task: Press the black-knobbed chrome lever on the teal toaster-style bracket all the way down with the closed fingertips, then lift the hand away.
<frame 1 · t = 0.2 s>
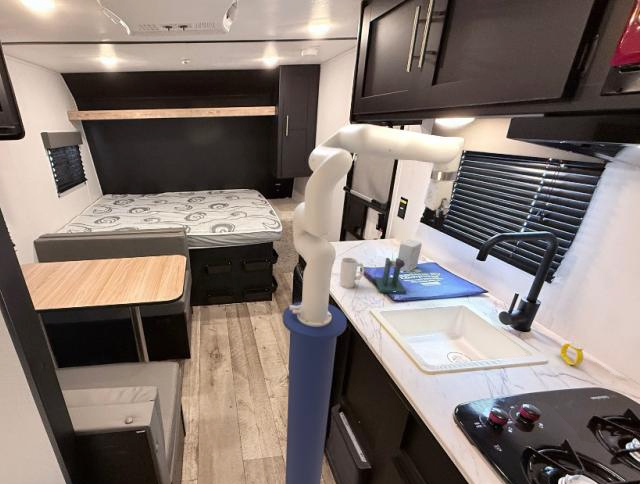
hand: (432, 223, 114), 31 cm above the worktop, tool pointing down, fingers open, 9 cm apart
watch: (567, 361, 92), on the worktop
toaster bracket: (388, 286, 137), on the worktop
mug: (350, 285, 140), on the worktop
toaster lever: (396, 263, 127), point 13 cm above the worktop, hinge at 25.0°
small box: (406, 268, 153), on the worktop
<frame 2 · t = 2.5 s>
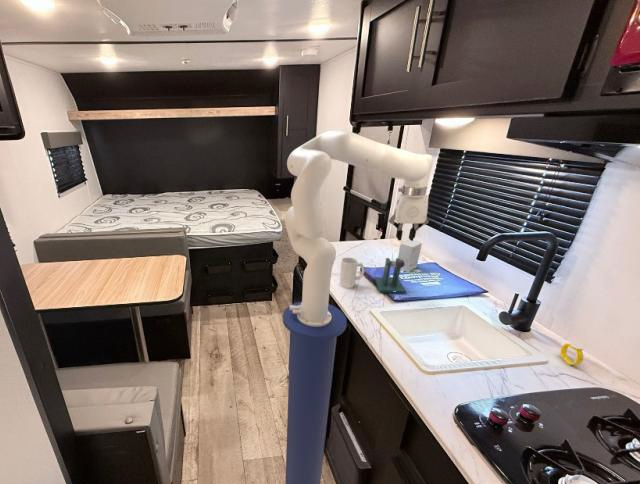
hand: (404, 239, 119), 25 cm above the worktop, tool pointing down, fingers open, 3 cm apart
nothing on the worktop moved.
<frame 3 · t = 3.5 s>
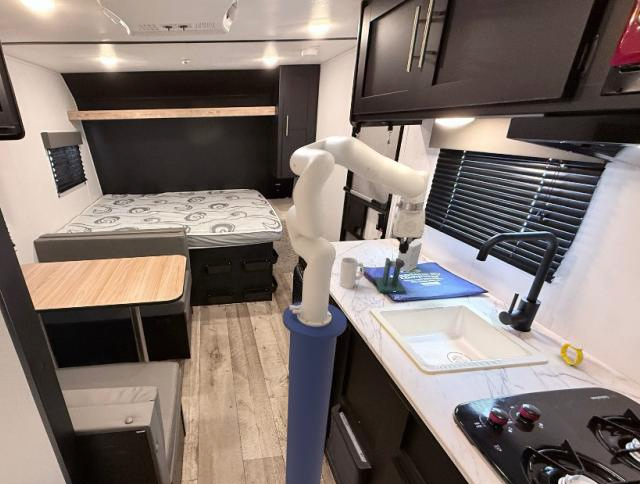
hand: (402, 252, 121), 20 cm above the worktop, tool pointing down, fingers closed
nothing on the worktop moved.
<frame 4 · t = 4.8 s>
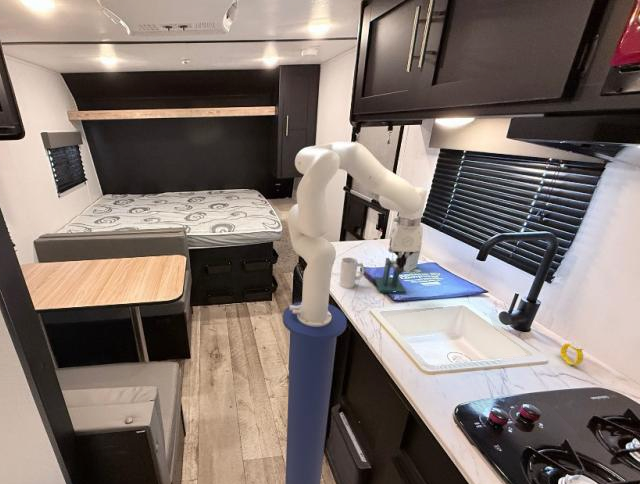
hand: (400, 265, 123), 14 cm above the worktop, tool pointing down, fingers closed
toaster lever: (396, 266, 128), point 12 cm above the worktop, hinge at 9.6°, touching gripper
everything else where it was.
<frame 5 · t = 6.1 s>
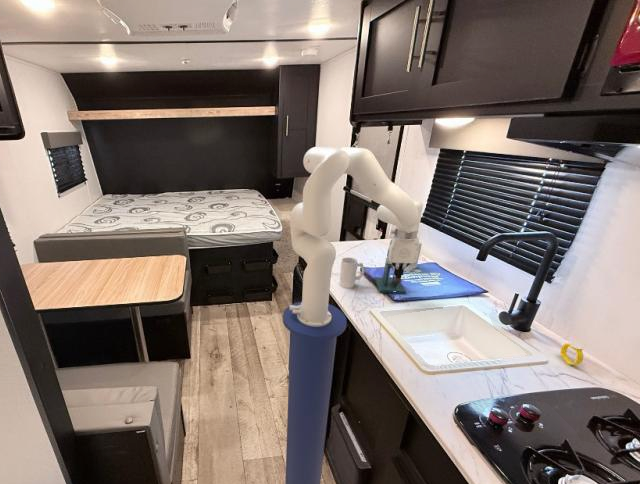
hand: (397, 276, 126), 9 cm above the worktop, tool pointing down, fingers closed
toaster lever: (395, 272, 129), point 9 cm above the worktop, hinge at -23.0°, touching gripper
everything else where it was.
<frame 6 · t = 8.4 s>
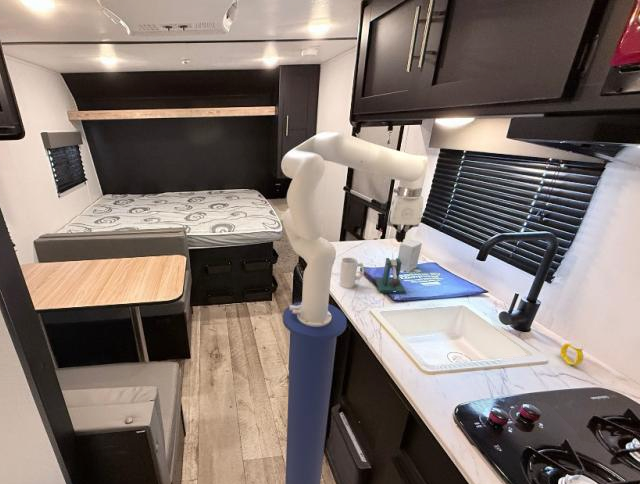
hand: (399, 240, 118), 25 cm above the worktop, tool pointing down, fingers closed
toaster lever: (394, 273, 130), point 9 cm above the worktop, hinge at -31.9°
everything else where it was.
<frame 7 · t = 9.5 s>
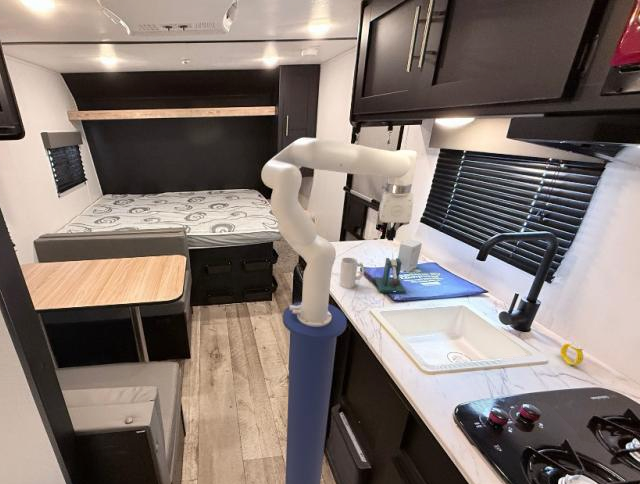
hand: (389, 239, 114), 27 cm above the worktop, tool pointing down, fingers closed
nothing on the worktop moved.
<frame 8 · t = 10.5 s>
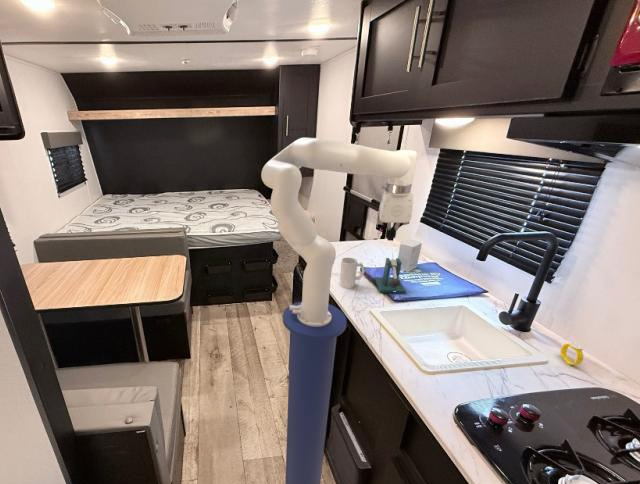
hand: (389, 239, 114), 27 cm above the worktop, tool pointing down, fingers closed
nothing on the worktop moved.
at the end: toaster lever at -32° (first picture: +25°); the gripper is holding nothing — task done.
